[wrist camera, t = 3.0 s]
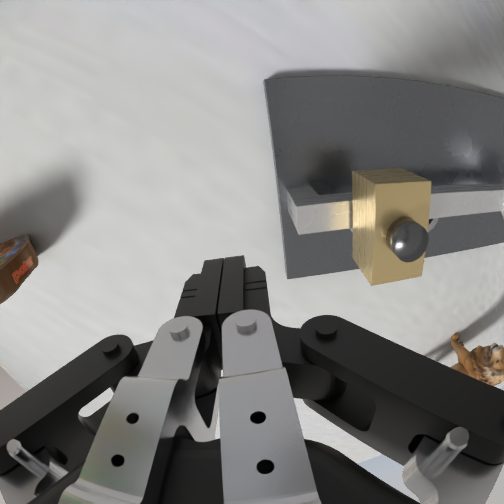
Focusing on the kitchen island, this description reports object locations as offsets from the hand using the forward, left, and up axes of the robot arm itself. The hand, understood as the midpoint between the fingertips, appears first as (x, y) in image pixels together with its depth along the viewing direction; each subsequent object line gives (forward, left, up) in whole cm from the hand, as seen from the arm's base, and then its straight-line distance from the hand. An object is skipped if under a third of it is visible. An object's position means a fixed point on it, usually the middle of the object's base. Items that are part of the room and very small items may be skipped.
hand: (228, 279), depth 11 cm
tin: (+1, -24, -10) cm, 26 cm away
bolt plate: (-1, +16, -10) cm, 19 cm away
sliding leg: (0, +8, -8) cm, 11 cm away
